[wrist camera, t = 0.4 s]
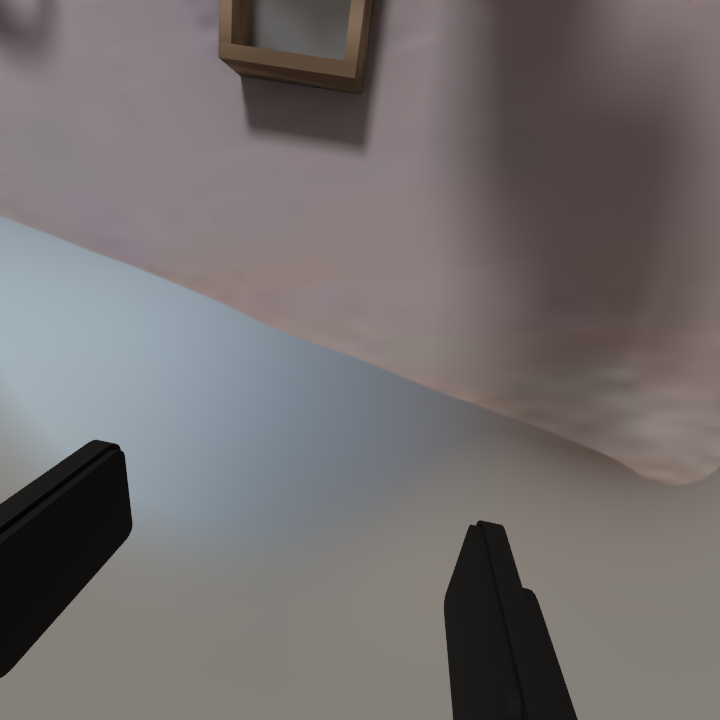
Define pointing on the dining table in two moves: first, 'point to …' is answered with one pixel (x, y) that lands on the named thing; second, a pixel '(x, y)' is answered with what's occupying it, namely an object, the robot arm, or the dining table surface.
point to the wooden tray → (297, 41)
